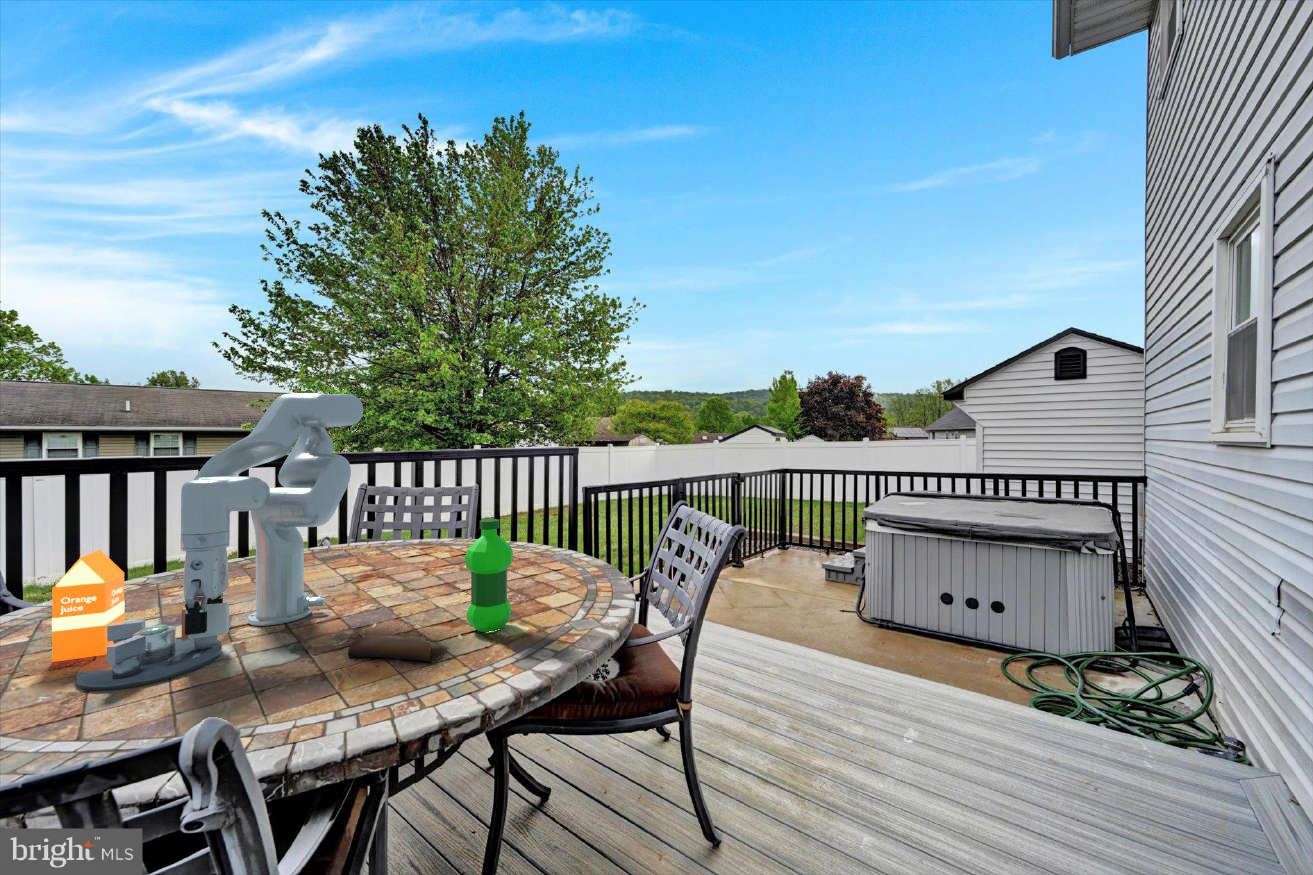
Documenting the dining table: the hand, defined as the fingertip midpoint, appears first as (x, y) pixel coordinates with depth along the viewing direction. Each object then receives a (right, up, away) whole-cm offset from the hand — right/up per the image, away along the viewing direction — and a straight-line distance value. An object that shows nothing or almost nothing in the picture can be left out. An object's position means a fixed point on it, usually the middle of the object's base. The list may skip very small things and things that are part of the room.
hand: (204, 625), depth 105 cm
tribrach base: (-5, -6, -5) cm, 9 cm away
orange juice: (-25, -6, +2) cm, 26 cm away
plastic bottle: (+53, -6, +14) cm, 55 cm away
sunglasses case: (+39, -7, +1) cm, 40 cm away
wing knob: (0, -4, 0) cm, 4 cm away
